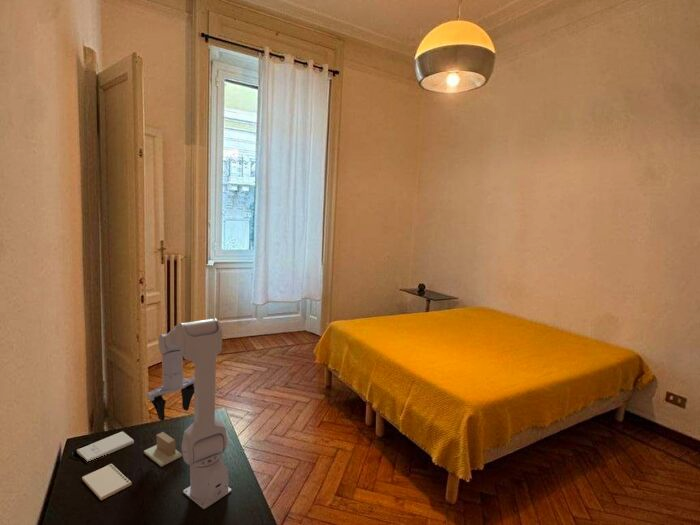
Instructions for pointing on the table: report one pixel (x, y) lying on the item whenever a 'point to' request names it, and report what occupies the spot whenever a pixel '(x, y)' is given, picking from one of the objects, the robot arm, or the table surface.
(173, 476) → the table surface
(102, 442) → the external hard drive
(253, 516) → the table surface
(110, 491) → the board
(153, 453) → the stub
